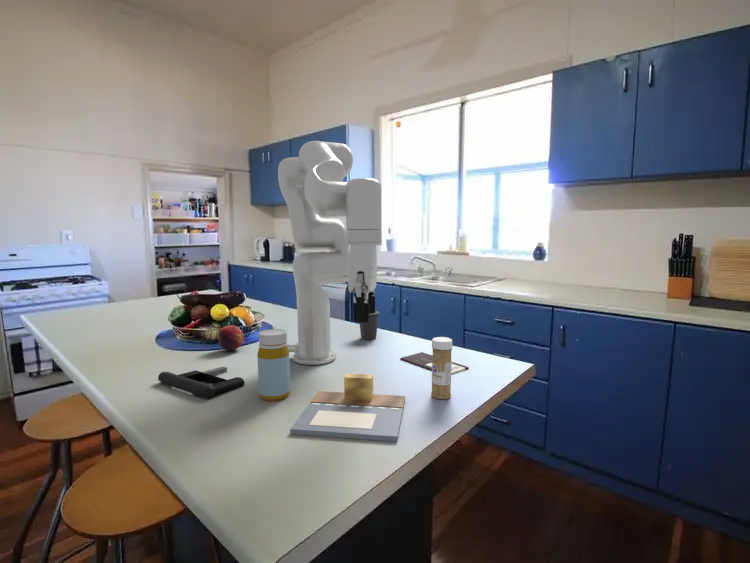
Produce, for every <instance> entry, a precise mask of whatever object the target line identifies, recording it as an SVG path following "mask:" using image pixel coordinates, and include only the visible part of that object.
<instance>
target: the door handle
mask: <svg viewBox="0 0 750 563" xmlns="http://www.w3.org/2000/svg"><path fill="white" fill-rule="evenodd" d="M224 372H225V373H227V372H228V367H226V366H221V367H217V368H212V369H209V370H203V371H199V370H191V371H187V372H184V373H180V374H176V373H172V372H170V371H161V372H160V373H159V374H158V377H157V378H158V379H157V381H159V382H160V383H162V384H163V385H165V386H169V387H171V389H172V390H175V389H176V391H179V392H182V393H184V394H188V395H190V396H196V397H200V398H203V399H206V400H209V399H212V398H213V397H214V396H218V395H220V394H224V393H226V392H227V393H228V392H230V391H232V390H235V389H238V388H241V387H243V386H244V385H245V382H246V381H245V380H244V379H243V378H242V377H241V376H238V377H233V378H229V379H226V378H223V377H218V376H219V375H221V373H222V374H224ZM218 374H219V375H218ZM205 382H206V383H205ZM208 383H209V384H208Z"/></svg>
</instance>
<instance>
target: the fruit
mask: <svg viewBox="0 0 750 563" xmlns="http://www.w3.org/2000/svg"><path fill="white" fill-rule="evenodd" d="M244 342H245V335H244V333H243V330H242V329H240V328H239V327H238V326H236V325H232V324H231V325H226V326H223V327H222V328H220V329H219V330H218V344H219V346H220V347H222V348H223V349H224V350H226V351H227V352H231V351H232V350H233V351H235V350H236V349H238V348H240V347H241V346H242V345H243V344H244Z"/></svg>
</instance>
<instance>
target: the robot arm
mask: <svg viewBox="0 0 750 563" xmlns="http://www.w3.org/2000/svg"><path fill="white" fill-rule="evenodd" d="M353 162H354V157H353V153H352V151H351V149H350V148H349V146H348V145H346V144H344V143H341V142H330V141H322V140H321V141H320V140H311V141H307V142H306V143H304V144H303V145H302V146H301V148H300V149H299V152H298V156H296V157H295V156H293V157H286V158H283V159H282V160H281V161H280V162H279V164H278V169H277V181H278V186H279V189H280V192H281V194H282V197H283V199H284V201H285V204H286V206H287V209H288V216H289V220H290V227H291V228H290V229H291V234H292V239H293V240H292V241H293V243H294V245H295V246H296V248H297V249H299V250H303V251H310V252H303V253H300V254H298V255H296V256H295V258H294V259H293V261H292V275H293V279H294V285H295V293H296V318H297V321H296V322H297V342H296V343H294V344H292V343H287V347H288V350H289V353H294V354H293V355H292V360H293V362H295V363H296V364H298V365H299V364H300V365H306V366H316V365H317V366H318V365H319V366H320V365H323V364H324V365H325V364H328V363H331V362H333V361H334V360H336V358H337V357H336V356H337V355H336V352H335V351H332V350H331V309H330V308H331V306H330V298H329V296H328V294H327V293H326V292H325V291H324V289H323V288H322V286H324V285H335V284H336V285H337V284H345V283H348V287H347V289H348V291H349V293H353V304H352V305H353V306H352V308H353V313H352V314H353V315H352V317H353V318H352V319H353V322H354V323H359V322H360V323H368V322H369V314H374V313H375V311H376V295H375V289H376V287H377V276H378V275H377V274H378V264H377V263H378V262H377V261H378V256H377V252H378V250H377V246H383V240H382V238H383V236H382V233H383V232H382V229H383V228H382V225H383V224H382V218H383V217H382V215H383V214H382V211H383V210H382V184H381V183H380V181H379V180H378V179H375V178H370V177H369V178H368V177H359V178H358V177H357V178H353V179H349V180H348V181H343V180H344V178H346V177H347V175H349V173H350V172H351V170H352V167H353ZM320 216H323V217H325V216H328V217H329V216H332V217H336V216H337V217H343V216H344V217H345V224H346V227H345V225H344V224H343V222H342V221H341V220H339V219H337V218H330V217H329V218H327V217H325V218H322V217H320ZM312 251H313V252H312Z"/></svg>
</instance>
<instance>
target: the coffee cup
mask: <svg viewBox="0 0 750 563" xmlns="http://www.w3.org/2000/svg"><path fill="white" fill-rule="evenodd" d="M380 314H381V313H380V311H378V310H375V313H374V314H369V322H368V323H360V322H358V324H359V331H360V339H361V338H362V339H361V340H363V339H365V341H372V340H373V339H374V340H377V334H378V333H377V332H378V323H379V315H380ZM374 340H373V341H374Z"/></svg>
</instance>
